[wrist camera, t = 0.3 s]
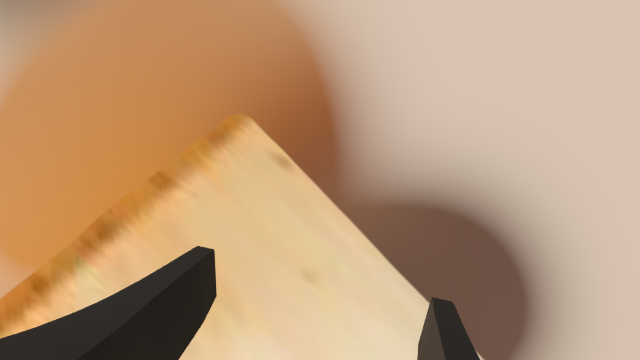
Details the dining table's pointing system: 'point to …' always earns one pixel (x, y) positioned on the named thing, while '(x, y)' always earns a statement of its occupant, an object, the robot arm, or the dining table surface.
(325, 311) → the dining table surface
